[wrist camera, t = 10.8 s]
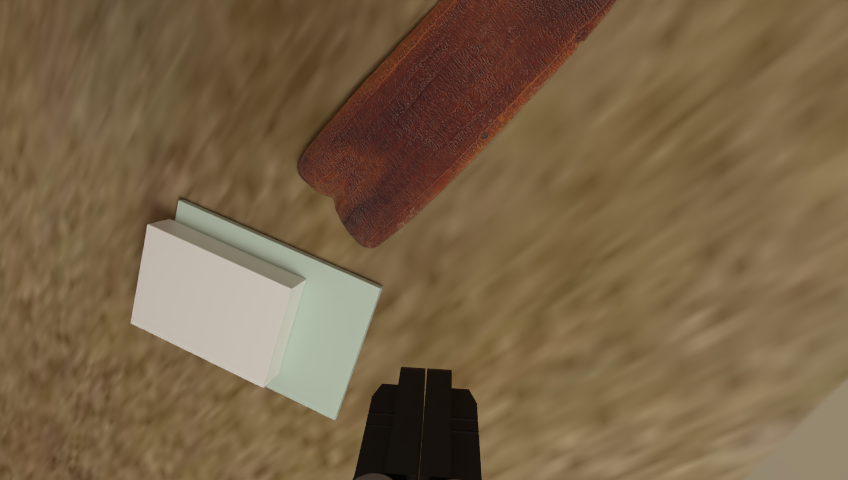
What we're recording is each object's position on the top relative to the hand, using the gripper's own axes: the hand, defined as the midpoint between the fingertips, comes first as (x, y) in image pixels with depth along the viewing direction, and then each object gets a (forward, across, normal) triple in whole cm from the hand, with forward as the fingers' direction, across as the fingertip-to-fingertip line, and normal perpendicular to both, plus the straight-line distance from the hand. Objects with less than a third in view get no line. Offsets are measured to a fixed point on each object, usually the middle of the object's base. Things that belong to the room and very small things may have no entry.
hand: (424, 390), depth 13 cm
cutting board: (+24, +16, +14) cm, 32 cm away
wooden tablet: (+26, 0, -5) cm, 26 cm away
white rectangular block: (+21, +13, +15) cm, 29 cm away
